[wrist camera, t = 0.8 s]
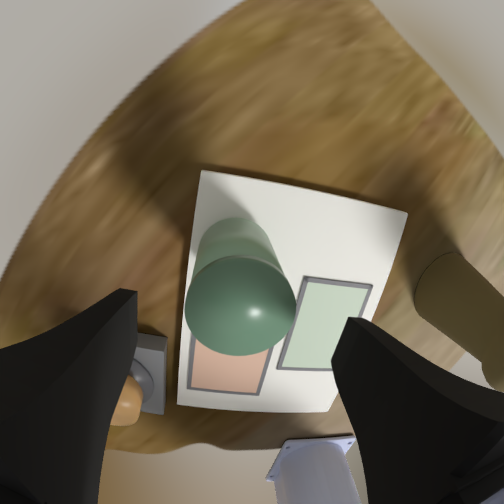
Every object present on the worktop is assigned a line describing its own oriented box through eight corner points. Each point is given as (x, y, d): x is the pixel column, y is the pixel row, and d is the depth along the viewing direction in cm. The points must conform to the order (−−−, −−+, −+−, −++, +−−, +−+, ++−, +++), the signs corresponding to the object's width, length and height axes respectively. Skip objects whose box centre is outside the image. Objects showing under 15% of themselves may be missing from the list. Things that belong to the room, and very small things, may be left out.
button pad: (165, 401, 22) (163, 417, 21) (88, 384, 21) (81, 400, 20) (167, 337, 20) (163, 354, 18) (76, 319, 19) (67, 334, 17)
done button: (144, 412, 19) (141, 431, 18) (90, 400, 19) (84, 417, 17) (142, 373, 18) (136, 392, 16) (81, 360, 17) (72, 377, 15)
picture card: (325, 407, 24) (327, 412, 24) (177, 399, 22) (176, 405, 22) (403, 211, 18) (409, 214, 18) (201, 169, 16) (201, 171, 16)
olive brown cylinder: (470, 243, 20) (569, 307, 9) (465, 304, 22) (542, 376, 12) (413, 266, 20) (514, 356, 10) (413, 329, 22) (486, 422, 12)
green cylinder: (262, 283, 18) (281, 359, 12) (194, 274, 18) (180, 349, 11) (276, 218, 17) (308, 270, 11) (203, 206, 16) (190, 253, 10)
